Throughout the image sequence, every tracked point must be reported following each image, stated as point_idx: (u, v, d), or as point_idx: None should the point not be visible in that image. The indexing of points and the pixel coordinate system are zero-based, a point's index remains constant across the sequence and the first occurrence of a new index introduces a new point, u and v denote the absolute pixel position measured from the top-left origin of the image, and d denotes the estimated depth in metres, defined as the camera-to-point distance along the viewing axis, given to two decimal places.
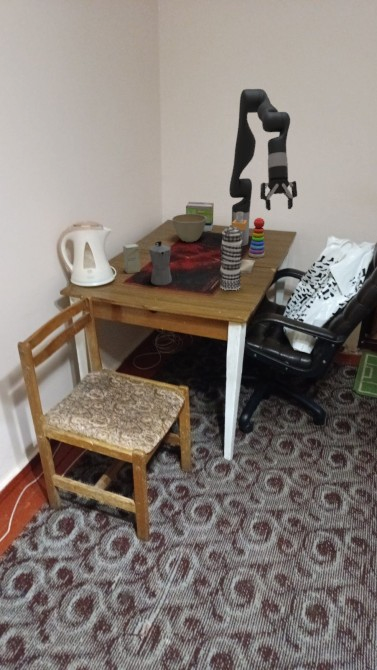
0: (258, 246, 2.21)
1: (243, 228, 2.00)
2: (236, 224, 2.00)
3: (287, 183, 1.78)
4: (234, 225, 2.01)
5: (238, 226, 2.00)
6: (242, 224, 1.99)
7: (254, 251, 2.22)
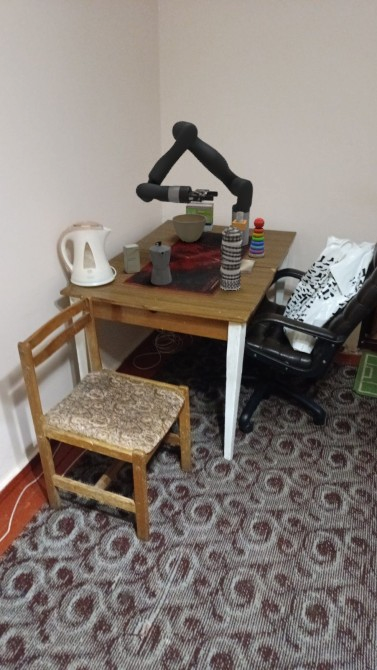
0: (258, 246, 2.21)
1: (243, 228, 2.00)
2: (236, 224, 2.00)
3: None
4: (234, 225, 2.01)
5: (238, 226, 2.00)
6: (242, 224, 1.99)
7: (254, 251, 2.22)
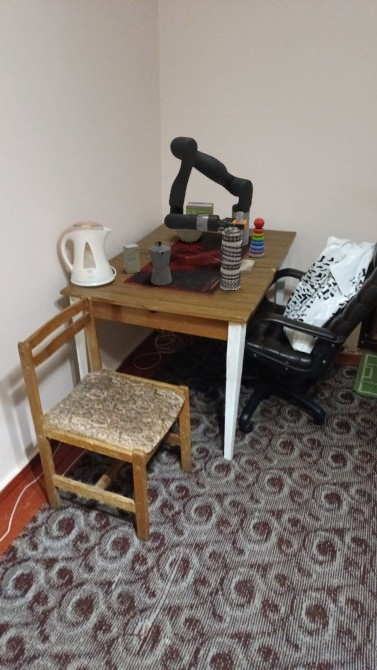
0: (258, 246, 2.21)
1: None
2: None
3: None
4: None
5: None
6: None
7: (254, 251, 2.22)
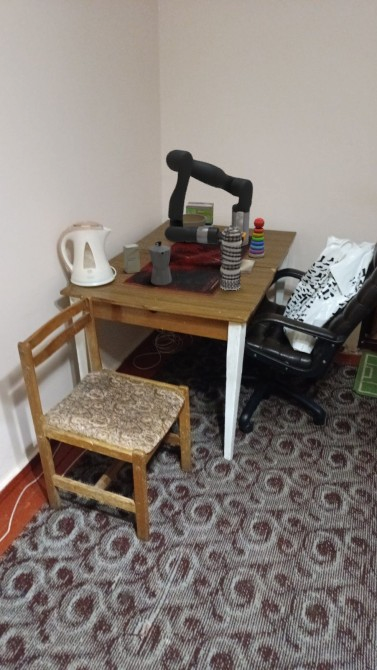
0: (258, 246, 2.21)
1: None
2: None
3: None
4: None
5: None
6: None
7: (254, 251, 2.22)
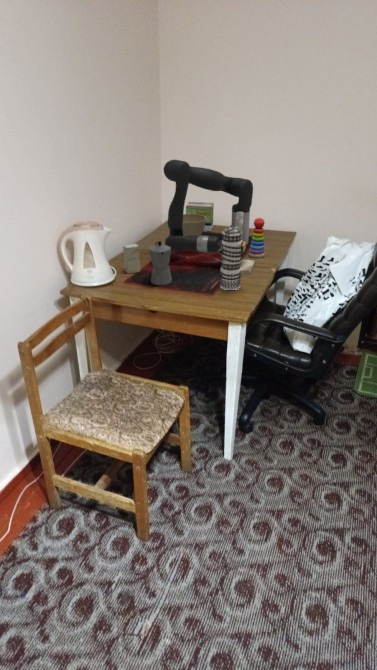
0: (258, 246, 2.21)
1: None
2: None
3: None
4: None
5: None
6: None
7: (254, 251, 2.22)
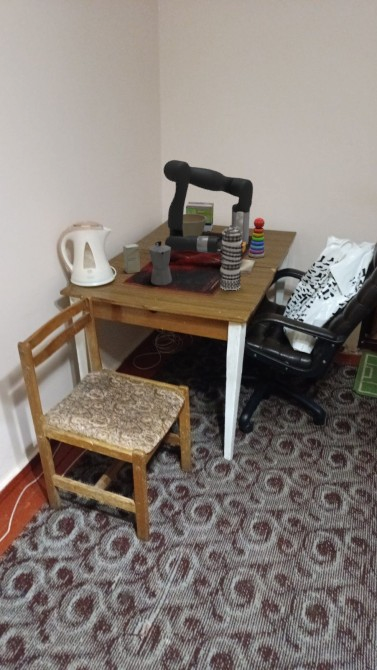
0: (258, 246, 2.21)
1: (242, 250, 2.05)
2: None
3: None
4: None
5: None
6: None
7: (254, 251, 2.22)
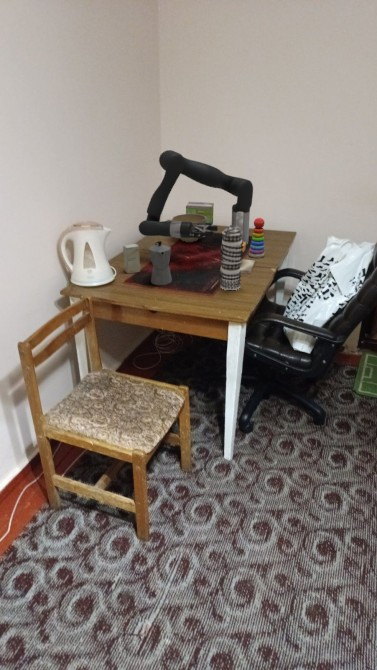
0: (258, 246, 2.21)
1: (242, 250, 2.05)
2: None
3: None
4: None
5: None
6: None
7: (254, 251, 2.22)
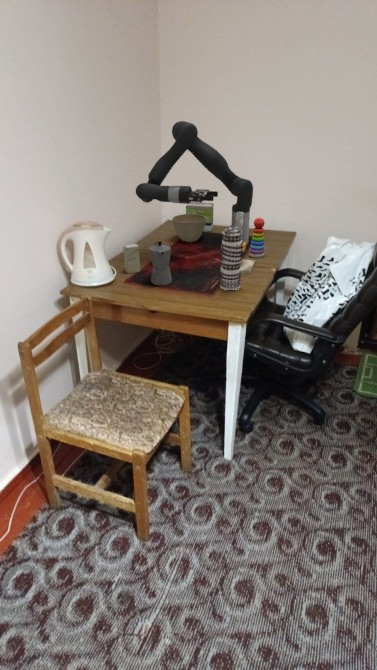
0: (258, 246, 2.21)
1: (242, 250, 2.05)
2: None
3: None
4: None
5: None
6: None
7: (254, 251, 2.22)
